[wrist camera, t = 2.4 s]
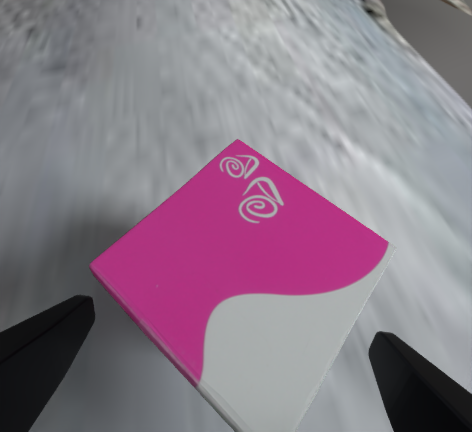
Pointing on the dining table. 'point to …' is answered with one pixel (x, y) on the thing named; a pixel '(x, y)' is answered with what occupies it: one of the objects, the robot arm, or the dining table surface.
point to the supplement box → (246, 286)
